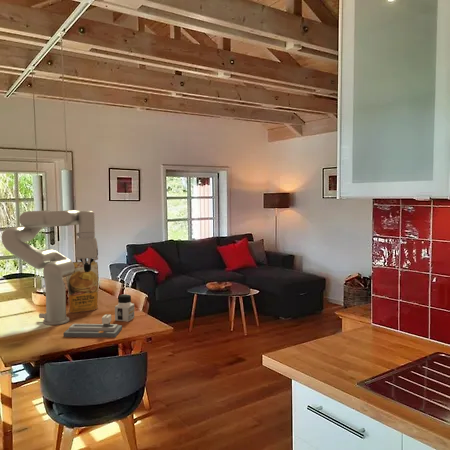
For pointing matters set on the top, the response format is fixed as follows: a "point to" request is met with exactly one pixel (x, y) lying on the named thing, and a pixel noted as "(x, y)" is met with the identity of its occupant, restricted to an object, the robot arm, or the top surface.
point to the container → (124, 308)
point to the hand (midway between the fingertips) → (87, 271)
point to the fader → (106, 320)
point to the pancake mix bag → (83, 288)
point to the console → (92, 330)
